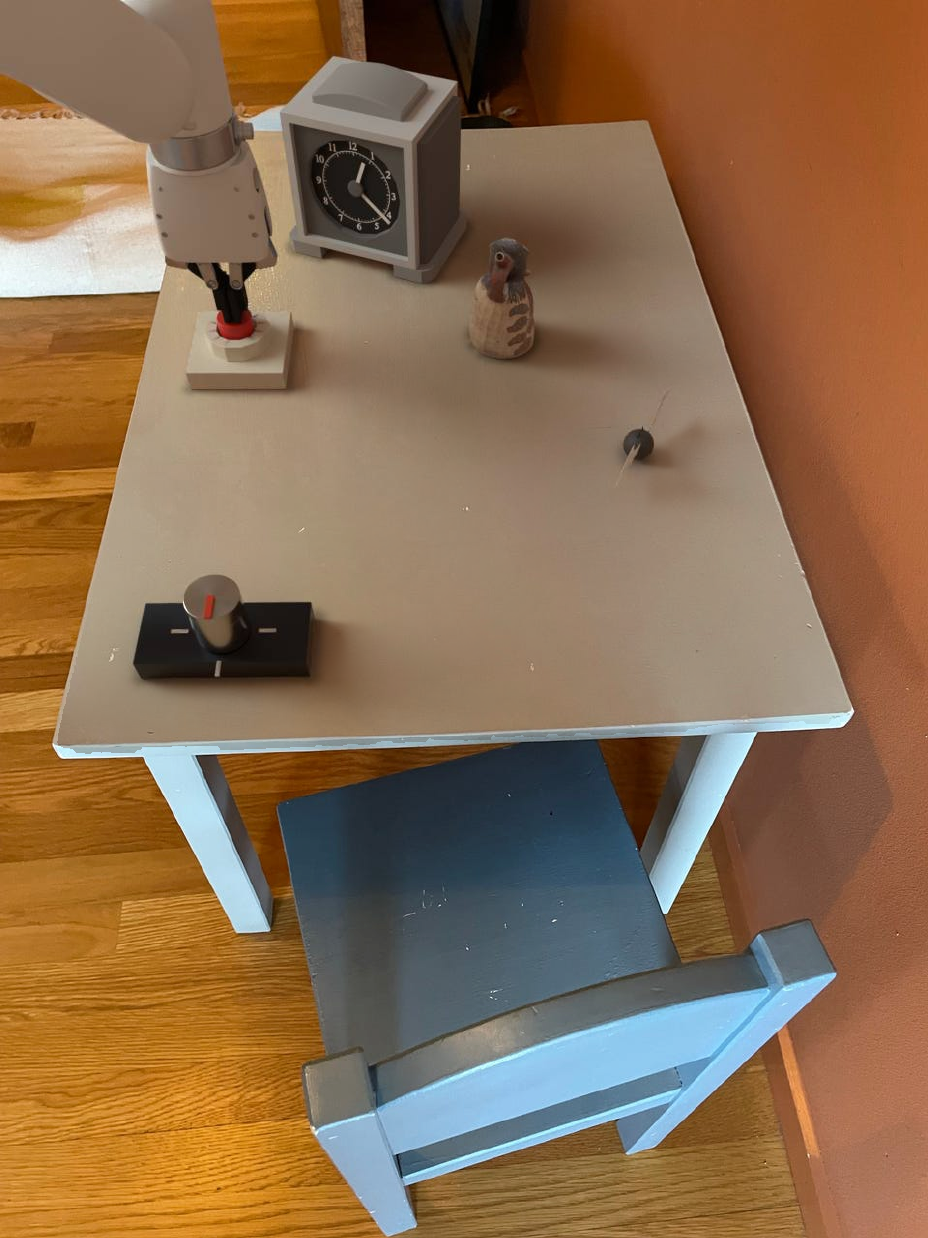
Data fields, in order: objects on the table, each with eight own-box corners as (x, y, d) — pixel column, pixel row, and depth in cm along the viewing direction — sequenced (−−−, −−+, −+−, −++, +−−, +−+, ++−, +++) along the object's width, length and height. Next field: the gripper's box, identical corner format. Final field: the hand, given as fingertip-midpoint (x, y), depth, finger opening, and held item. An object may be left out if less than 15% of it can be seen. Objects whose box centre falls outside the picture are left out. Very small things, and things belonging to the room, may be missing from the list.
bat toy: (675, 413, 94) (686, 377, 90) (622, 510, 87) (630, 476, 83) (648, 403, 95) (657, 368, 91) (593, 499, 87) (600, 464, 83)
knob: (200, 609, 76) (185, 572, 72) (253, 609, 76) (241, 571, 72) (193, 654, 74) (177, 618, 69) (248, 653, 74) (235, 617, 69)
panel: (138, 693, 75) (128, 676, 72) (155, 607, 79) (147, 589, 77) (308, 691, 75) (304, 674, 73) (316, 605, 80) (312, 587, 77)
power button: (217, 341, 94) (214, 327, 92) (222, 318, 96) (218, 304, 94) (252, 341, 94) (249, 327, 92) (256, 318, 96) (253, 304, 94)
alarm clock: (287, 249, 108) (261, 90, 93) (333, 192, 115) (317, 34, 100) (429, 285, 105) (427, 125, 90) (469, 223, 112) (473, 66, 97)
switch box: (190, 389, 95) (180, 358, 91) (203, 327, 100) (195, 296, 97) (286, 389, 95) (280, 358, 92) (294, 327, 101) (288, 296, 97)
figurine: (544, 331, 101) (555, 232, 91) (516, 368, 97) (524, 270, 87) (487, 310, 103) (492, 212, 93) (457, 347, 99) (459, 248, 89)
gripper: (284, 114, 80) (310, 291, 95) (113, 113, 80) (167, 291, 95) (276, 160, 76) (305, 338, 91) (96, 160, 76) (155, 338, 91)
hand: (234, 314), depth 93 cm, fingers closed
